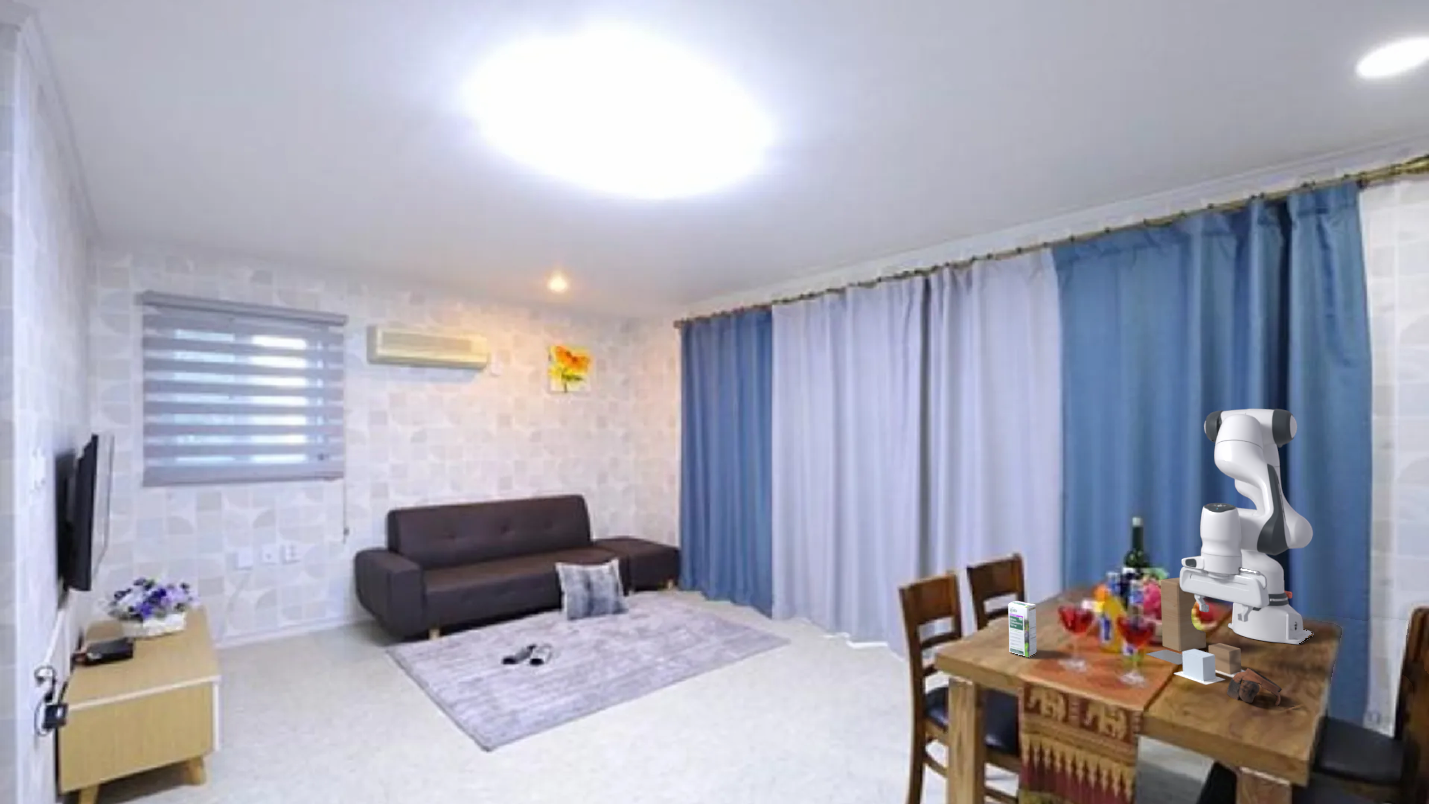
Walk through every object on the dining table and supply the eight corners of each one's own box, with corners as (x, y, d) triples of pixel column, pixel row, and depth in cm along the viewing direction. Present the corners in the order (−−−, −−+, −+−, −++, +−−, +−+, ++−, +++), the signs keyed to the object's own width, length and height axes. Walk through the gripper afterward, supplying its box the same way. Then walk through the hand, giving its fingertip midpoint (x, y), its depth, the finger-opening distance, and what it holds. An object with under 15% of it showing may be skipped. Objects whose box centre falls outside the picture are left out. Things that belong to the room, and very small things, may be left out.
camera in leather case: (1225, 690, 164) (1245, 663, 163) (1269, 719, 157) (1290, 691, 156) (1217, 692, 156) (1237, 664, 155) (1263, 722, 149) (1284, 693, 148)
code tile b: (1192, 670, 176) (1192, 668, 176) (1225, 680, 169) (1225, 679, 169) (1173, 675, 173) (1173, 673, 173) (1206, 686, 166) (1206, 684, 166)
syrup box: (1008, 653, 190) (1007, 603, 191) (1018, 648, 194) (1016, 599, 195) (1028, 658, 186) (1026, 607, 186) (1037, 653, 190) (1036, 603, 190)
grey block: (1195, 671, 174) (1194, 648, 174) (1215, 678, 170) (1214, 654, 170) (1183, 674, 172) (1182, 651, 172) (1203, 681, 168) (1202, 657, 168)
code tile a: (1218, 663, 180) (1218, 662, 180) (1251, 674, 173) (1251, 672, 173) (1199, 668, 177) (1199, 666, 177) (1232, 679, 170) (1232, 677, 170)
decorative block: (1188, 642, 198) (1186, 576, 198) (1207, 648, 192) (1205, 580, 193) (1161, 646, 194) (1159, 579, 195) (1179, 653, 189) (1177, 583, 190)
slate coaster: (1166, 650, 191) (1166, 649, 191) (1198, 661, 183) (1198, 659, 183) (1145, 655, 187) (1145, 653, 187) (1178, 666, 179) (1178, 664, 179)
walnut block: (1220, 665, 178) (1220, 643, 179) (1241, 671, 174) (1240, 648, 174) (1209, 667, 176) (1208, 645, 177) (1229, 674, 172) (1229, 651, 172)
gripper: (1273, 571, 168) (1275, 625, 167) (1189, 556, 186) (1191, 605, 186) (1259, 573, 165) (1260, 628, 165) (1175, 558, 184) (1176, 607, 184)
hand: (1223, 616), depth 175 cm, fingers open, 8 cm apart
